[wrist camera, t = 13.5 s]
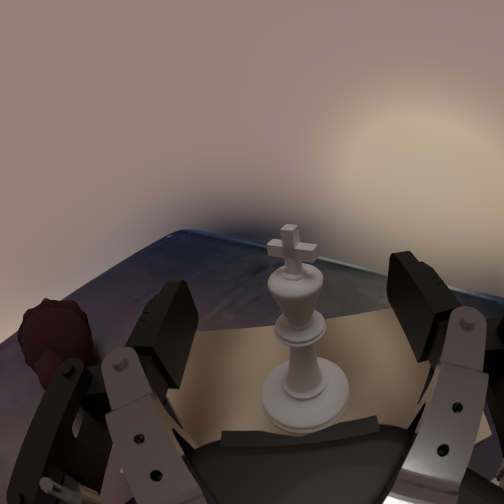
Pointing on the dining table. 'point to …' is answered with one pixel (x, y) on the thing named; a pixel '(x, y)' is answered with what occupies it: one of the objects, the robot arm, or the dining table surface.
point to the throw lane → (275, 353)
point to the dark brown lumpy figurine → (54, 337)
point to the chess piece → (301, 344)
